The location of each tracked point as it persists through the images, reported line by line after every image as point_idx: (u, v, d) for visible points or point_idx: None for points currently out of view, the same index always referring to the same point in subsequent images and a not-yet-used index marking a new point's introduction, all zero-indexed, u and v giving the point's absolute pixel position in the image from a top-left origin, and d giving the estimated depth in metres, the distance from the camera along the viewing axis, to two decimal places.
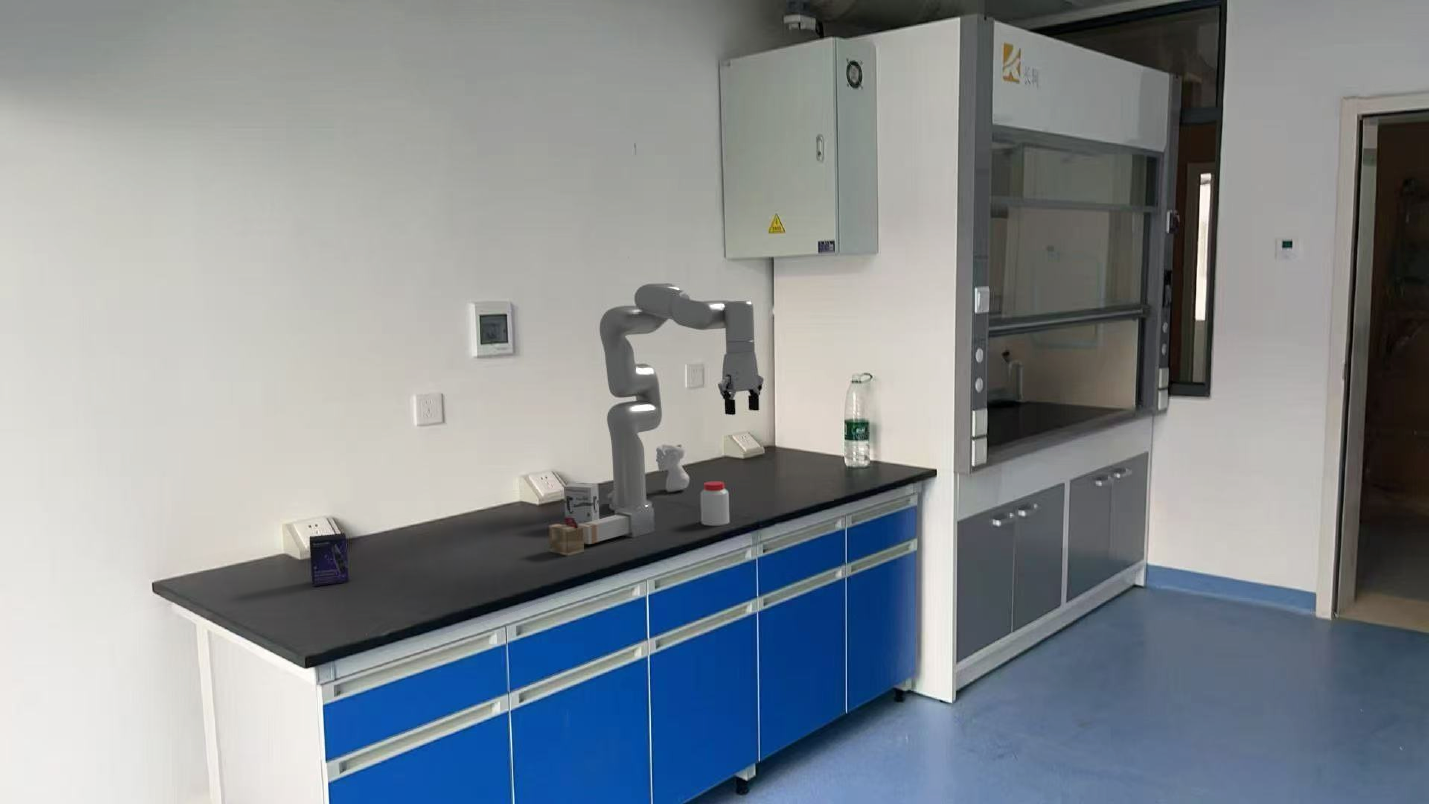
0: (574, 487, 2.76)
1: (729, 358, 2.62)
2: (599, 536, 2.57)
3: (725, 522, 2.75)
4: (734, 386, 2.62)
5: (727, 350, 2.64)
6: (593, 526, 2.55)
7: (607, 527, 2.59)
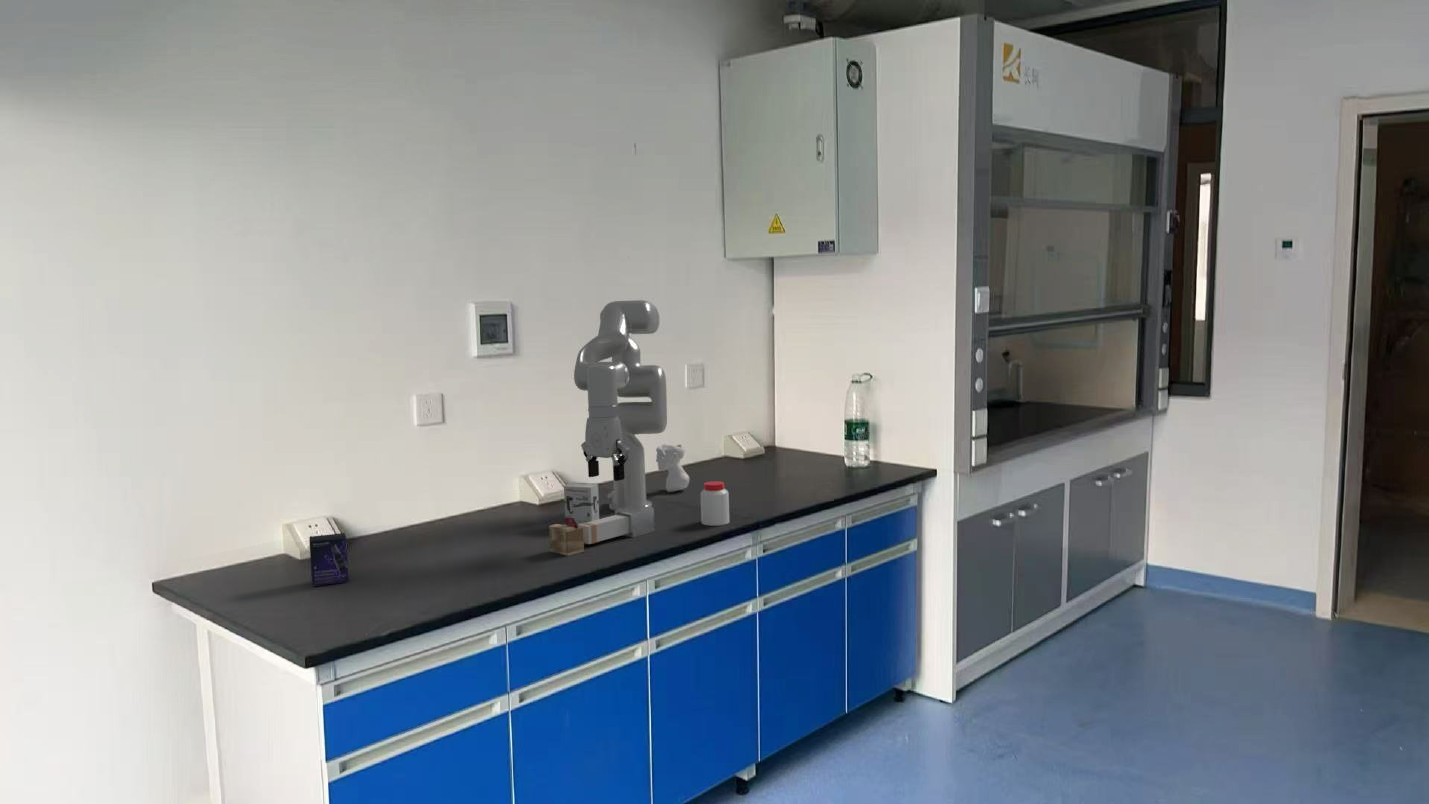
0: (574, 487, 2.76)
1: (616, 422, 2.56)
2: (599, 536, 2.57)
3: (725, 522, 2.75)
4: None
5: (607, 415, 2.55)
6: (593, 526, 2.55)
7: (607, 527, 2.59)
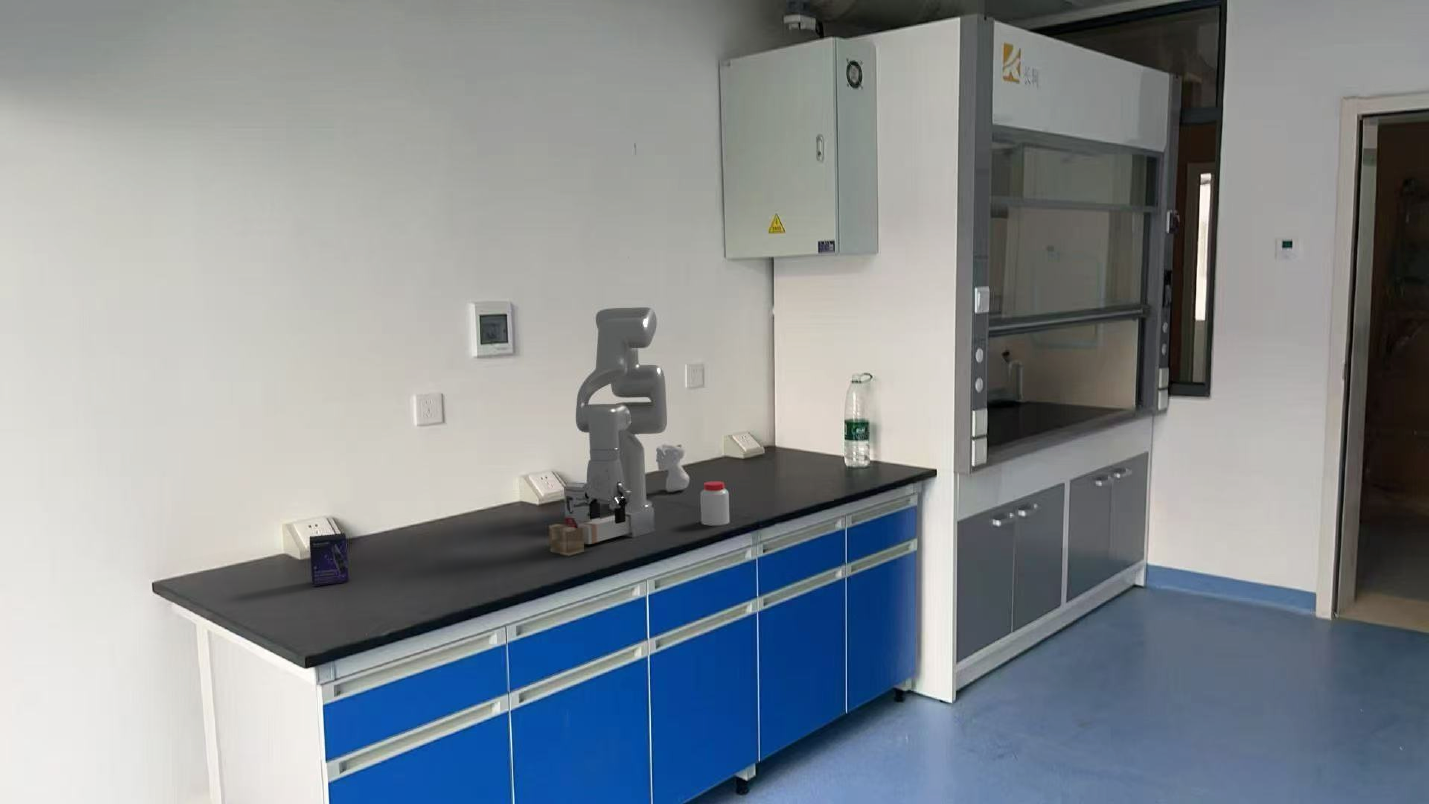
0: (574, 487, 2.76)
1: (617, 465, 2.57)
2: (599, 536, 2.57)
3: (725, 522, 2.75)
4: None
5: (609, 458, 2.56)
6: (593, 526, 2.55)
7: (607, 527, 2.59)
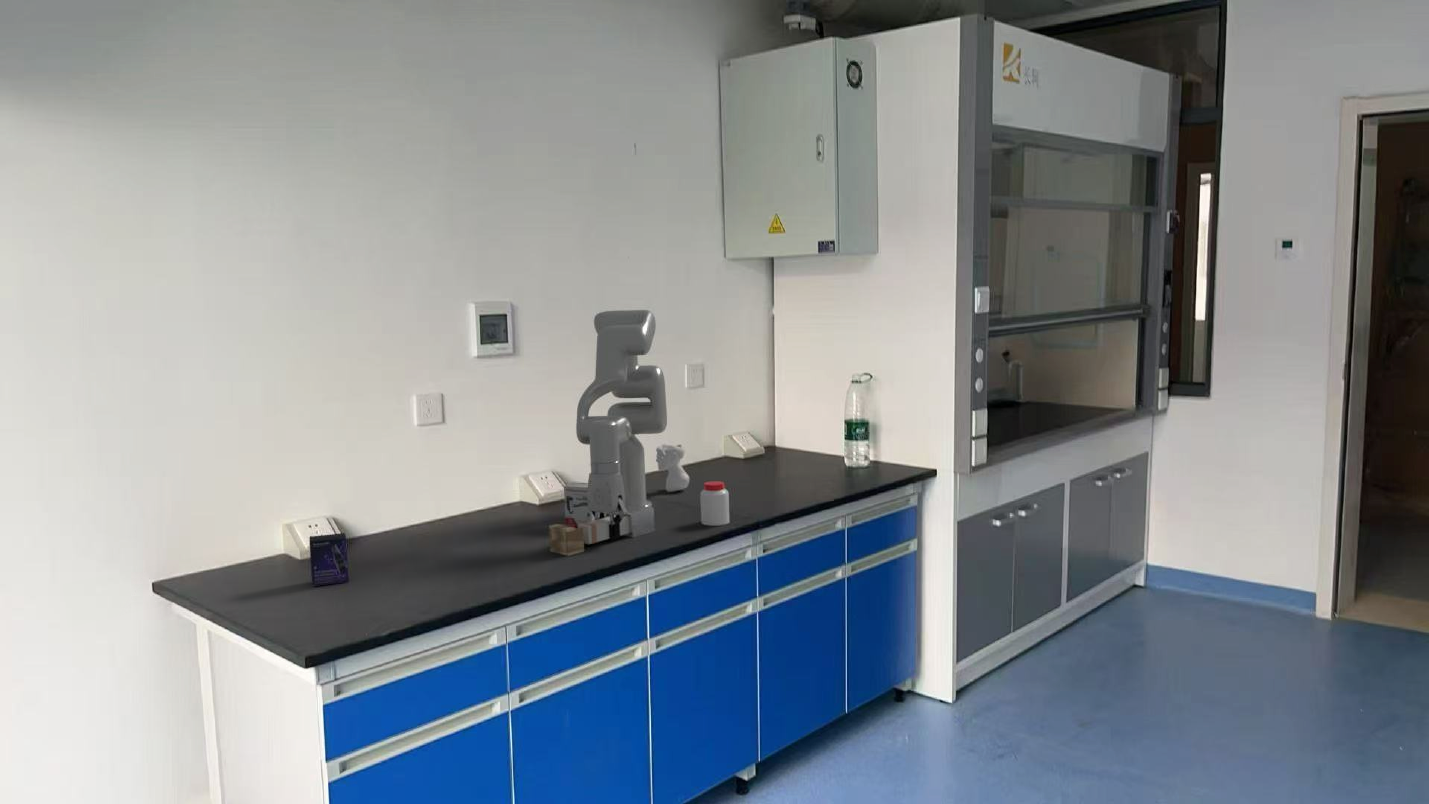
0: (574, 487, 2.76)
1: (618, 478, 2.57)
2: (598, 536, 2.57)
3: (725, 522, 2.75)
4: (624, 505, 2.59)
5: (609, 471, 2.57)
6: (593, 526, 2.55)
7: (607, 527, 2.59)
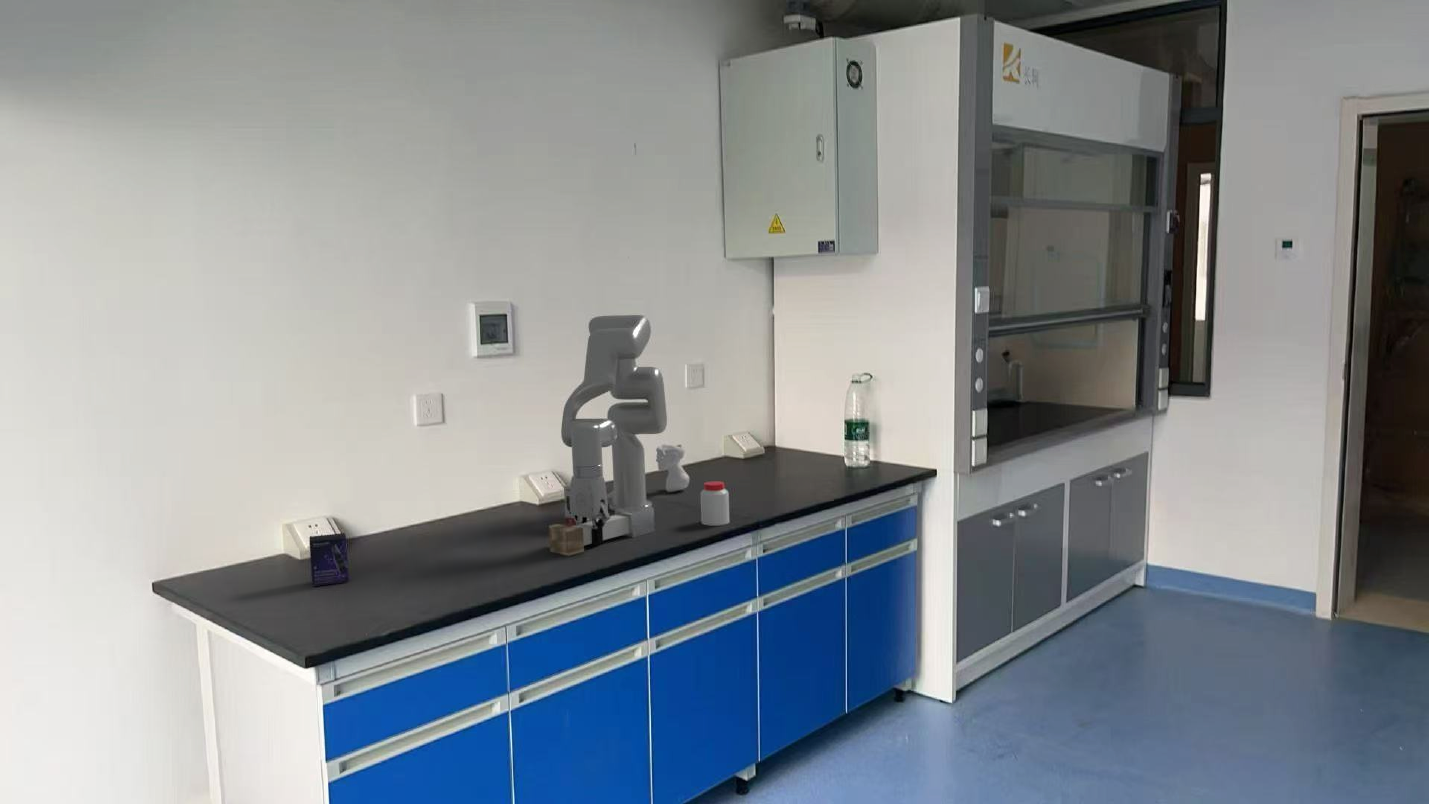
0: None
1: (600, 482, 2.53)
2: None
3: (725, 522, 2.75)
4: (607, 510, 2.55)
5: (592, 475, 2.52)
6: None
7: (589, 532, 2.54)
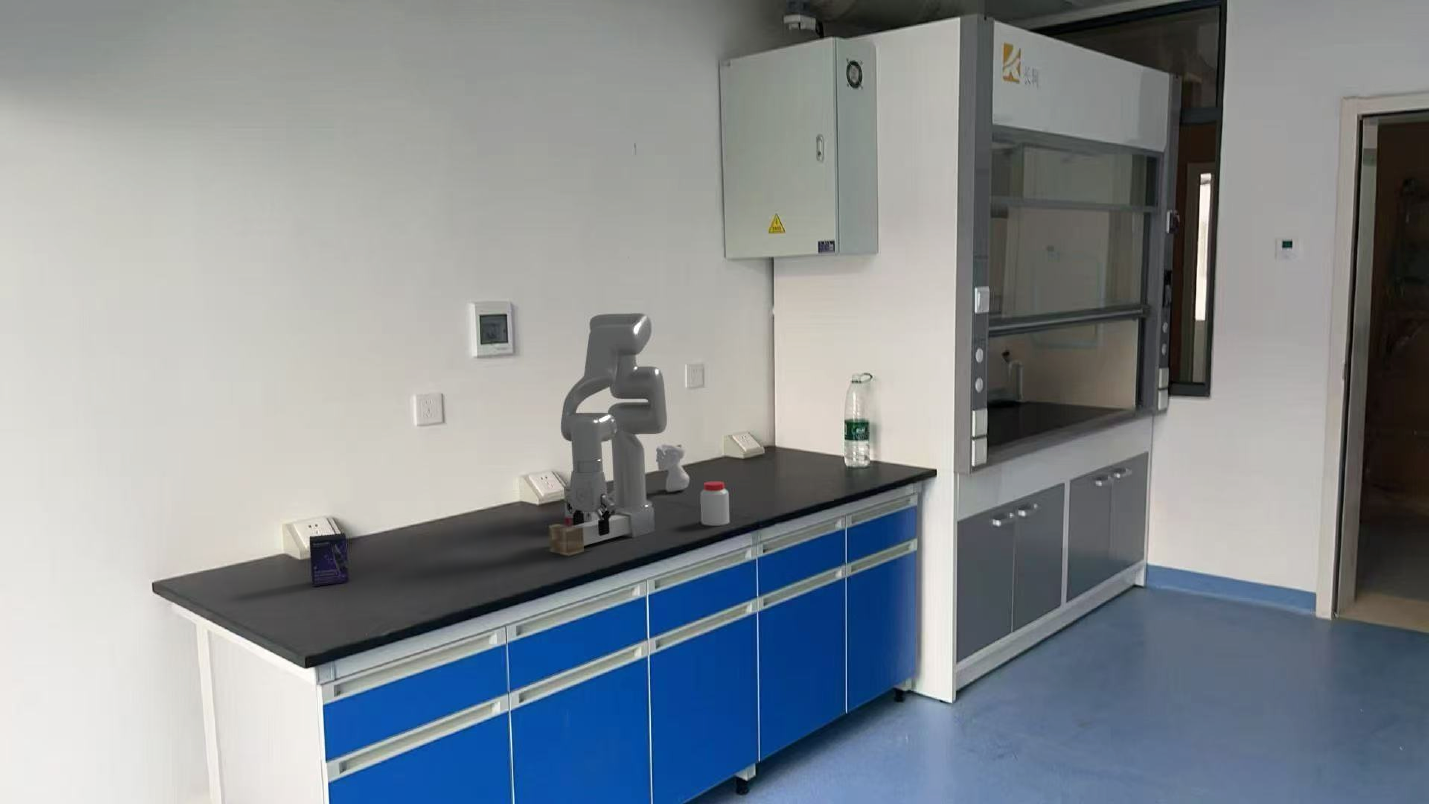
0: None
1: (600, 477, 2.53)
2: None
3: (725, 522, 2.75)
4: None
5: (592, 470, 2.52)
6: None
7: (589, 532, 2.54)
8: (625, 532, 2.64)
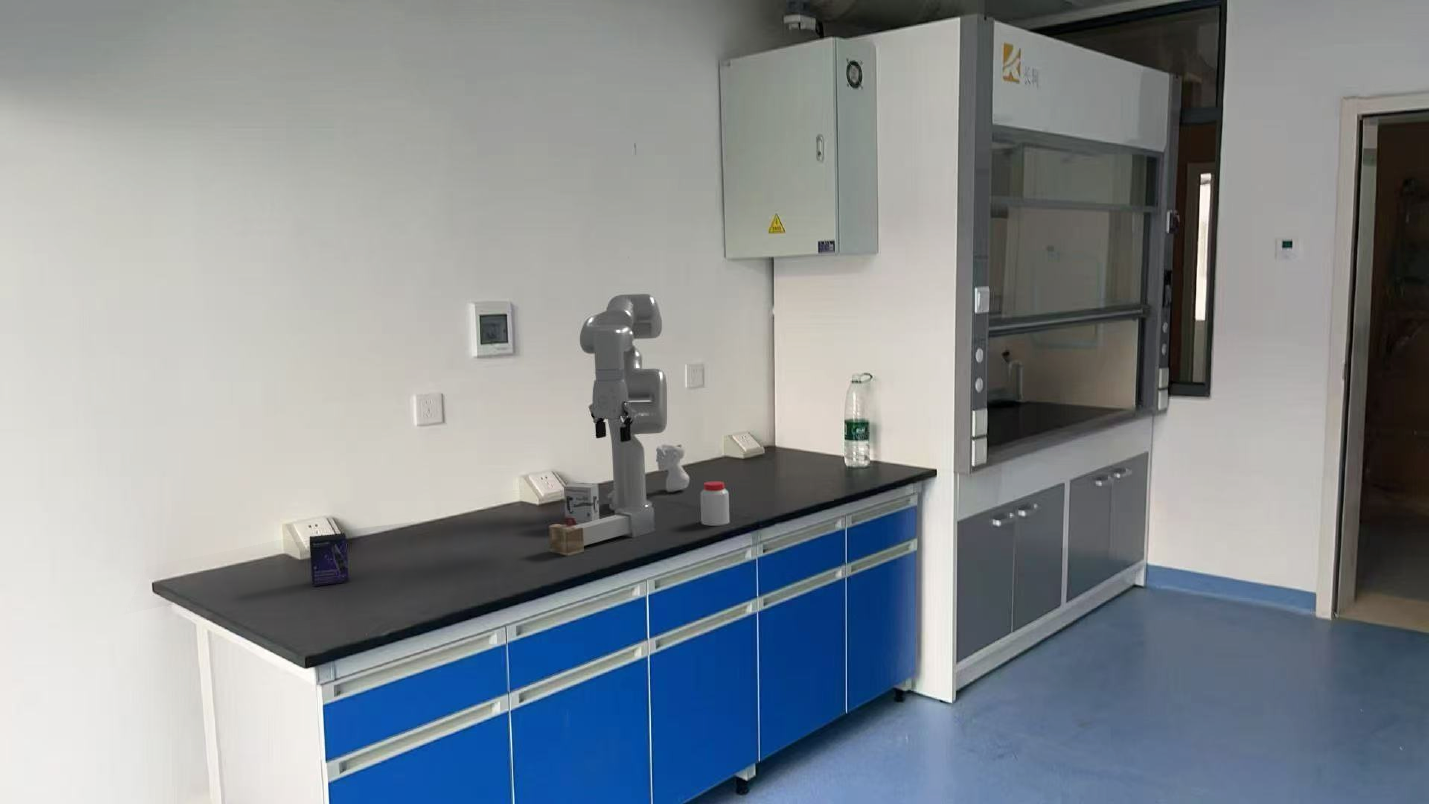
0: (574, 487, 2.76)
1: (622, 385, 2.61)
2: None
3: (725, 522, 2.75)
4: None
5: (614, 378, 2.61)
6: None
7: (589, 532, 2.54)
8: (625, 532, 2.64)
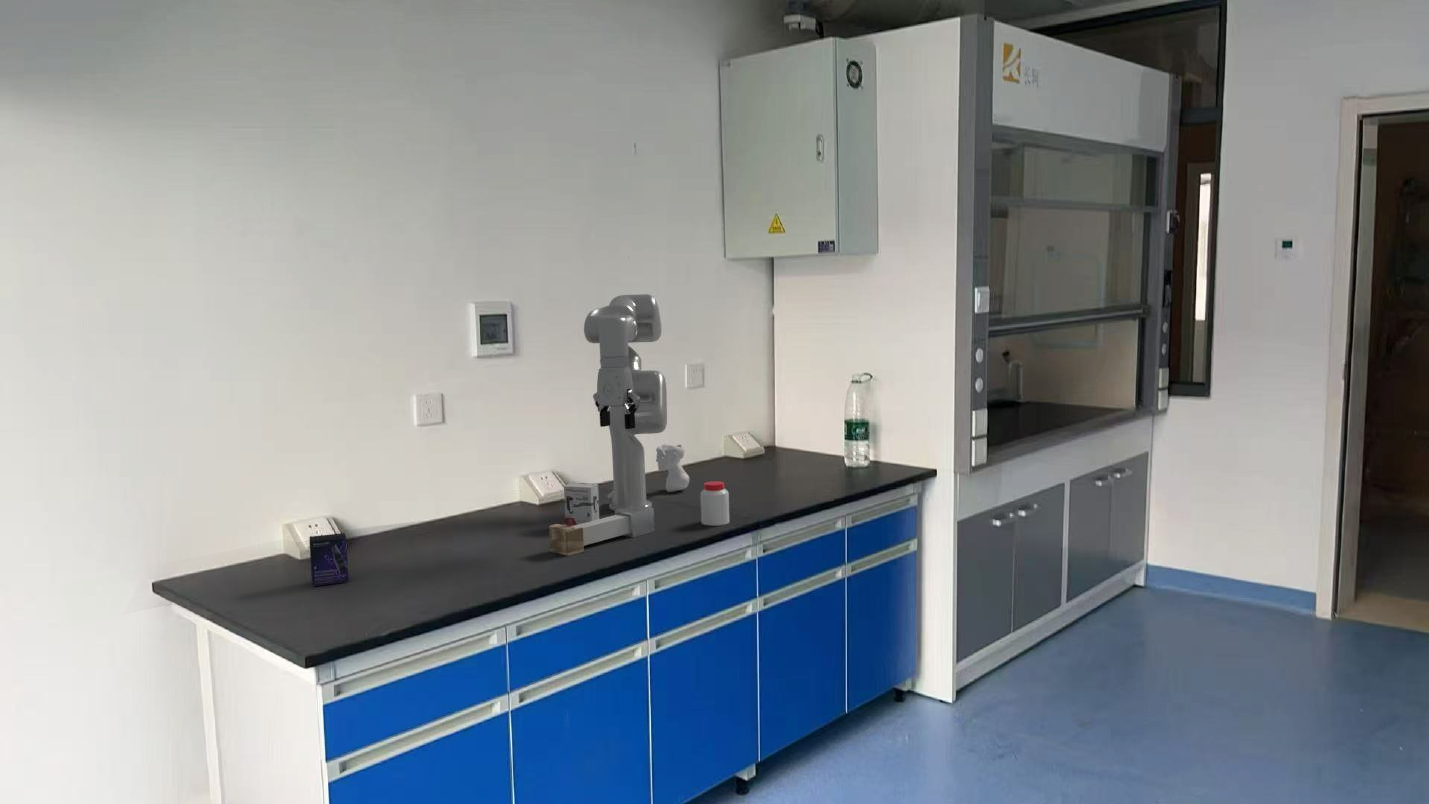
0: (574, 487, 2.76)
1: (627, 372, 2.63)
2: None
3: (725, 522, 2.75)
4: None
5: (619, 365, 2.63)
6: None
7: (589, 532, 2.54)
8: (625, 532, 2.64)
